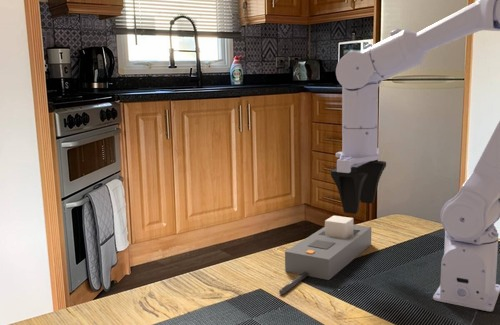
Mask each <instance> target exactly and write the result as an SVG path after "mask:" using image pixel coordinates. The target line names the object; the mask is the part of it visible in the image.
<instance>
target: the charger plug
mask: <svg viewBox="0 0 500 325" xmlns="http://www.w3.org/2000/svg"><path fill="white" fill-rule="evenodd" d="M353 224H354V217H347V216H341V215H332V216H330V217H329V218H327V219H325V220H324V227H325V236H331V237H337V238H344V239H350V238H351V237H353Z"/></svg>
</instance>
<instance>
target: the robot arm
mask: <svg viewBox="0 0 500 325" xmlns="http://www.w3.org/2000/svg"><path fill="white" fill-rule="evenodd" d="M481 31H488V32H489V31H491V32H493V31H494V32H500V0H476V1H475V2H473V3H471V4H469V5H466V6H465V7H463V8H461V9H459V10H458V11H455V12H454V13H452V14H450V15H448V16H446V17H444V18H443V19H440V20H439V21H436V22H435V23H433V24H431V25H429V26H427V27H425V28H423V29H422V30H420V31H418V32H417V31H414V30H412V29H408V28H405V29H403V30H402V29H400V28H396V29H393V30H392V31H390V33H389V34H390V36H389V37H387V38H384V39H382V40H381V41H378V42H377V43H374V44H372V43H368V44H366V45H364V46H363V50H362V52H360V51H355V50H354V51H348V52H347V53H346V54H345V55H343V56H342V57H340V59H339V60H338V62H337V63H336V68H335V76H336V80H337V81H338V83H339V85H341V87H342V88H341V91H342V93H341V94H342V97H341V98H342V99H341V100H342V101H341V105H342V108H341V111H342V112H341V114H342V115H341V116H342V118H341V120H342V121H341V126H342V127H341V129H342V130H341V134H342V136H341V137H342V138H341V139H342V141H341V142H342V143H341V147H342V149H341V151H338V152H335V158H339V159H337V160H336V168H334V169H333V168H332V169H331V170H330V177H331V179H332V180H333V181H334V183H335V186H336V187H337V191H338V194H339V198H340V201H341V206H342V209H343V212H344V213H345V214H349V215H350V214H351V215H357V214H358V212H359V209H360V203H363V204H374V202H375V199H376V194H377V190H378V186H379V182H380V179H381V177H382V174H383V172H384V170H385V169H386V167H387V162H386V161H384V160H380V154H381V152H380V151H381V150H380V148H379V147H378V136H379V134H378V131H379V87H380V85H381V83H382V82H383V81H386V80H388V79H390V78H392V77H394V76H397V75H399V74H402V73H403V72H406V71H408V70H410V69H413V68H416V67H418V66H419V65H421V64H422V63H423V62H424V60H425V57H426V55H427V53H428V52H431V51H433V50H435V49H438V48H441V47H444V46H445V45H448V44H450V43H453V42H455V41H458V40H460V39H463V38H465V37H469V36H470V35H473V34H475V33H478V32H481ZM499 219H500V120H499V121H498V123H497V124H496V127H495V129H494V130H493V132H492V134H491V136H490V138H489V140H488V142H487V144H486V146H485V148H484V150H483V151H482V153H481V155H480V157H479V159H478V161H477V163H476V165H475V166H474V168H473V171H472V172H471V173H470V174H469V176H468V177H467V179H466V180H465V181H464V182H463V184H462V185H461V186H460V188H459V191H458V192H457V193H456V195H455V196H453V197H452V198H450V199H449V200H447V201H446V202H445V203H444V205H442V208H441V210H440V222H441V226H442V228H443V230H444V248H443V249H444V251H443V256H442V258H441V262H440V264H441V265H440V284H439V287H437V290H436V291H435V292H434V294H433V295H432V300H434V301H437V302H442V303H447V304H452V305H455V306H461V307H465V308H470V309H475V310H481V311H486V312H493V311H494V309H495V306H496V303H497V300H498V297H499V295H500V284H498V283H497V269H498V268H497V267H498V248H499V232H498V230H497V228H496V226H495V224H496V222H498V221H499Z"/></svg>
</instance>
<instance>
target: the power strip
mask: <svg viewBox="0 0 500 325" xmlns="http://www.w3.org/2000/svg"><path fill="white" fill-rule="evenodd" d="M371 245H372V226H367V225H361V224H355V223H353V237H351V238H350V239H344V238H337V237H331V236H325V226H324V227H321V228H320V229H319V230H317V231H316V232H314V233H311V235H309V236H308V237H306V238H304V239H303V240H300V242H298V243H296V244H295V245H293V246H292V247H290V248H289V249H287V250H285V251H284V266H285V268H284V270H285V272H286V273H287V272H288V273H292V274H293V273H294V274H297V275H298V276H297V277H295V278H294V279H293V280H291V281H290V282H288V283H287V284H285V285H284V286H283V287H282V288H281V289H279V291H278V293H279V295H284V294H286V293H287V292H288V291H289V290H291V289H292V288H293V287H294V286H296V285H297V284H299V283H300V282H301V281H303V280H304V279H305V278H307V277H311V278H317V279H322V280H326V281H330V279H332V278H334V277H335V276H336V275H337V274H338V273H339V272H340V271H341V270H343V269H345V267H347V265H349V264H350V263H351V262H352V261H353V260H355V259H356V258H357V257H358V256H360V255H361V254H362V253H363V252H364V251H366V249H368V248H369V247H370V246H371Z"/></svg>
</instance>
